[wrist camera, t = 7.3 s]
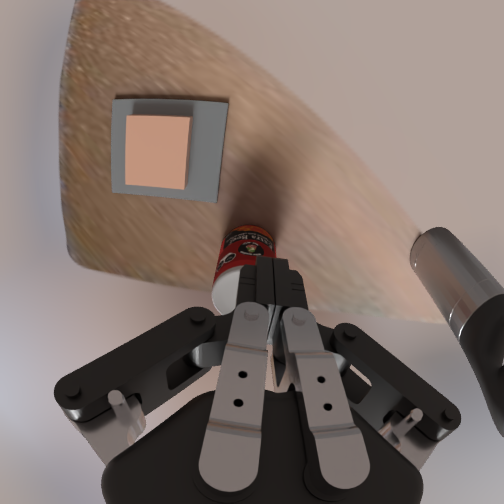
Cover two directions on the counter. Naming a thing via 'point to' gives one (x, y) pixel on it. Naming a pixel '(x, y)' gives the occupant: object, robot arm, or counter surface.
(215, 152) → the mat
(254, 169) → the counter surface
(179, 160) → the block
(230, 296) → the canned food
